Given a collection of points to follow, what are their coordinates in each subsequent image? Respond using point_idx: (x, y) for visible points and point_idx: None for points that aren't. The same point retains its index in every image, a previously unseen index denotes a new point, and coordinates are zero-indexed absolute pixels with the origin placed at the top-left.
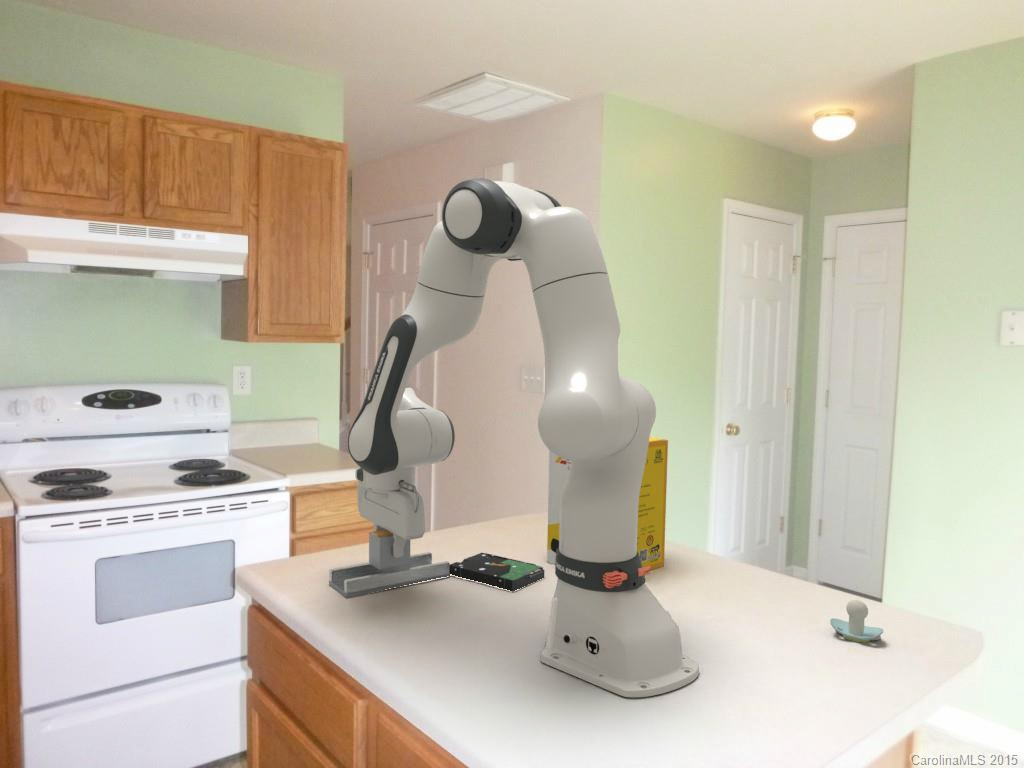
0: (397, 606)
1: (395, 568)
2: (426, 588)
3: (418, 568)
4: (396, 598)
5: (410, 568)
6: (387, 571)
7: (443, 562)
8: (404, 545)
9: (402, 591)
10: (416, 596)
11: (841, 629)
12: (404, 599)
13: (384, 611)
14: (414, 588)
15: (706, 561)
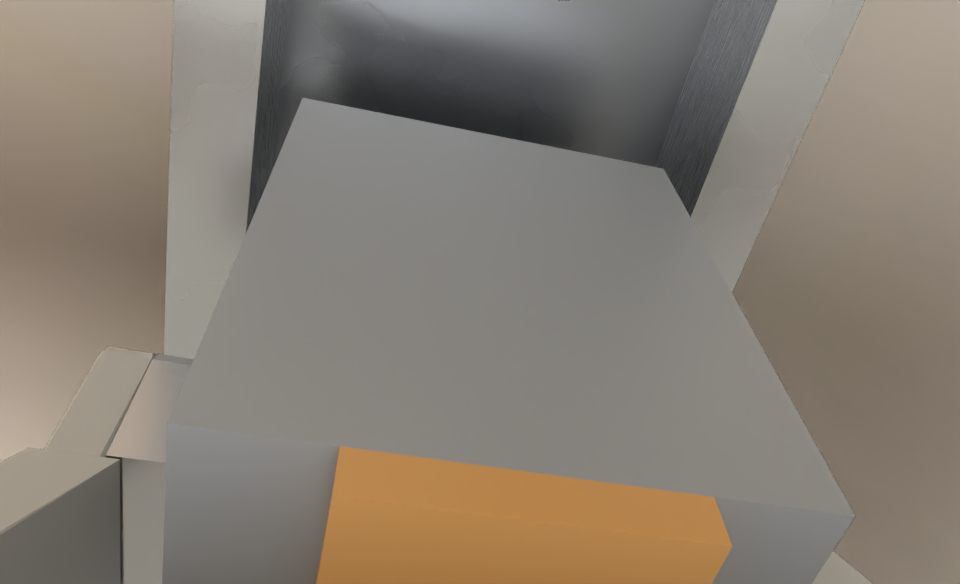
0: (939, 494)
1: (277, 66)
2: (910, 90)
3: (805, 123)
4: (826, 420)
5: (721, 204)
6: (270, 164)
7: None
8: (854, 569)
9: (756, 301)
10: (950, 293)
11: None
12: (898, 393)
13: (914, 580)
14: (799, 178)
15: None
